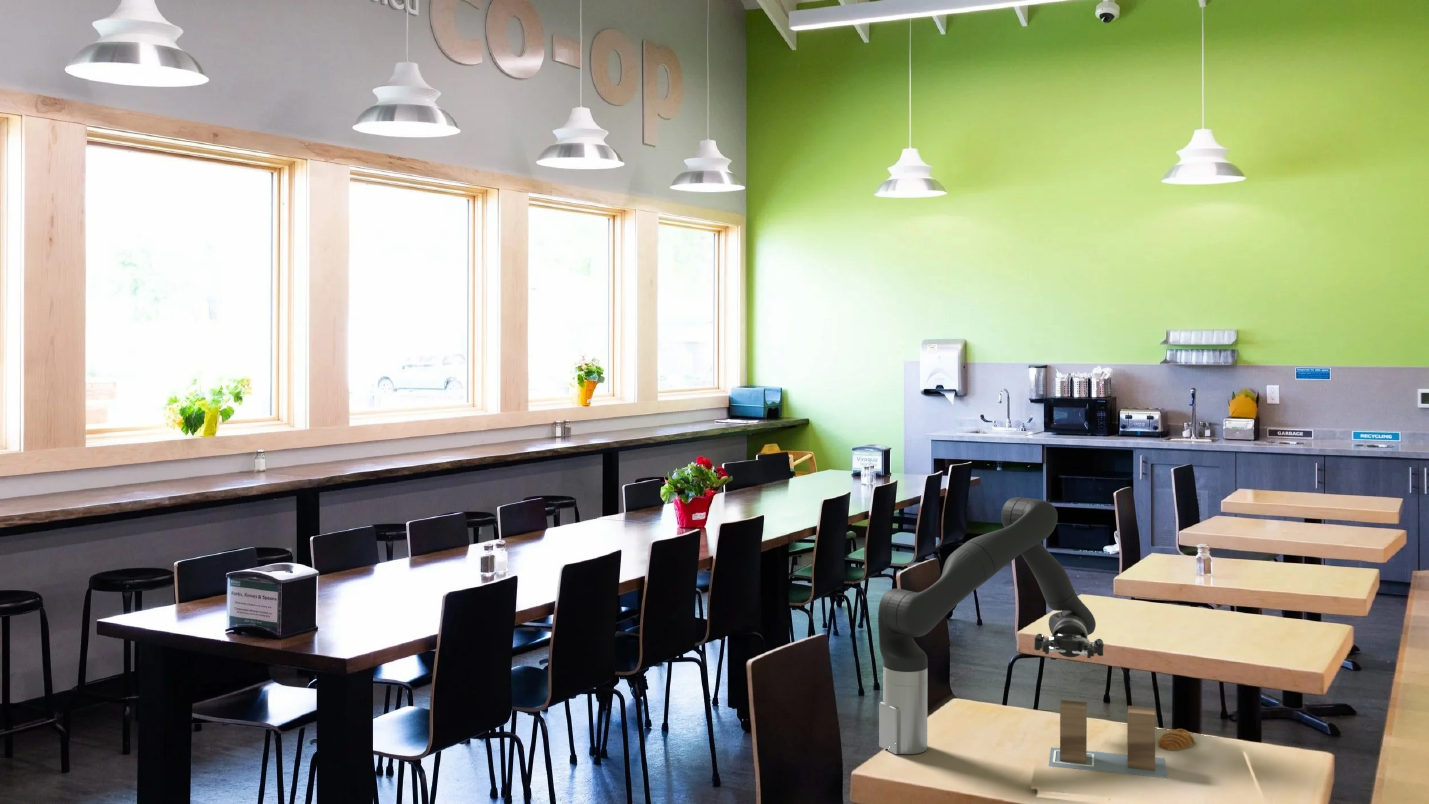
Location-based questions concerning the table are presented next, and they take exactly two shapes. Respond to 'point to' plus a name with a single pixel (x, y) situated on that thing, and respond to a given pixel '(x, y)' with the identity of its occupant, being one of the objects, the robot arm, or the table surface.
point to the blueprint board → (1108, 764)
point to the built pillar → (1141, 738)
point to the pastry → (1176, 740)
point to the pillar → (1073, 731)
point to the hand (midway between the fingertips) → (1068, 651)
